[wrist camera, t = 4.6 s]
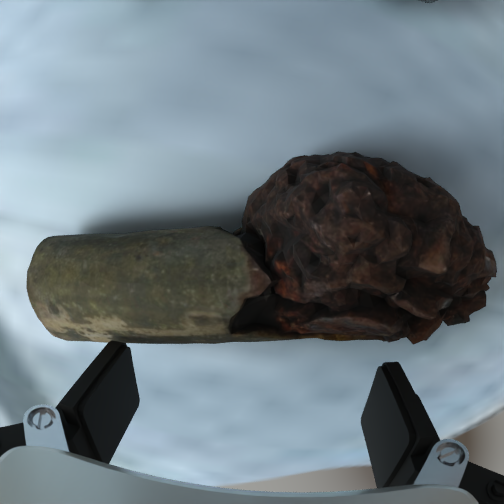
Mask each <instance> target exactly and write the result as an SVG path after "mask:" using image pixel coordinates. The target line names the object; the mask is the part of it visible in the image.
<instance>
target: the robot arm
mask: <svg viewBox="0 0 504 504" xmlns="http://www.w3.org/2000/svg"><path fill="white" fill-rule="evenodd" d="M139 402H140V399H139V393H138V388H137V383H136V378H135V373H134V367H133V361H132V355H131V350H130V347H127V345H126V343H124V342H119V341H114V340H111V341H110V342H109V343H108V344H107V345H106V346H105V347H104V349H103V350H102V351H101V352H100V353H99V355H98V356H97V357H96V358H95V359H94V361H93V362H92V363H91V364H90V365H89V367H88V368H87V369H86V370H85V371H84V373H83V374H82V375H81V376H80V378H79V379H78V380H77V381H76V382H75V384H74V385H73V386H72V387H71V389H70V390H69V391H68V392H67V394H66V395H65V396H64V397H63V399H62V400H61V401H60V402H59V404H58V405H57V406H56V408H55V407H53V406H50V405H46V404H42V405H36V406H33V407H32V408H30V409H29V410H28V411H27V412H26V413H25V415H24V419H23V423H19V424H15V425H10V426H5V427H0V504H504V476H503V475H501V474H498V473H495V472H493V471H490V470H488V469H486V468H483V467H481V466H478V465H476V464H473V463H471V462H469V461H468V459H469V454H468V450H467V449H466V447H465V446H464V445H463V444H462V443H460V442H458V441H456V440H452V439H444V440H440V439H439V437H438V435H437V433H436V430H435V428H434V426H433V424H432V422H431V420H430V418H429V416H428V414H427V412H426V410H425V408H424V406H423V404H422V402H421V400H420V398H419V397H418V395H417V394H415V392H414V390H413V388H412V386H411V384H410V382H409V380H408V379H407V377H406V375H405V373H404V371H403V369H402V367H401V365H400V364H399V362H385V363H383V364H382V366H379V367H378V369H377V372H376V375H375V378H374V381H373V384H372V387H371V391H370V394H369V397H368V399H367V402H366V405H365V408H364V411H363V414H362V417H361V426H362V430H363V433H364V437H365V441H366V445H367V449H368V453H369V457H370V461H371V465H372V469H373V473H374V477H375V482H376V486H377V488H376V489H366V490H353V491H338V492H309V493H308V492H307V493H296V492H295V493H294V492H293V493H292V492H265V491H250V490H238V489H229V488H220V487H212V486H205V485H199V484H193V483H187V482H181V481H176V480H171V479H166V478H161V477H156V476H152V475H148V474H144V473H140V472H136V471H132V470H128V469H125V468H121V467H117V466H114V465H110V464H109V463H110V461H111V459H112V457H113V455H114V453H115V451H116V449H117V447H118V445H119V443H120V441H121V439H122V437H123V435H124V433H125V431H126V429H127V427H128V425H129V424H130V422H131V420H132V418H133V416H134V414H135V412H136V410H137V408H138V406H139Z"/></svg>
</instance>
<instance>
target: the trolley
mask: <svg viewBox="0 0 504 504" xmlns="http://www.w3.org/2000/svg"><path fill="white" fill-rule="evenodd" d="M419 1H422V2H425V3H432V2H435V1H437V0H419Z"/></svg>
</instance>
